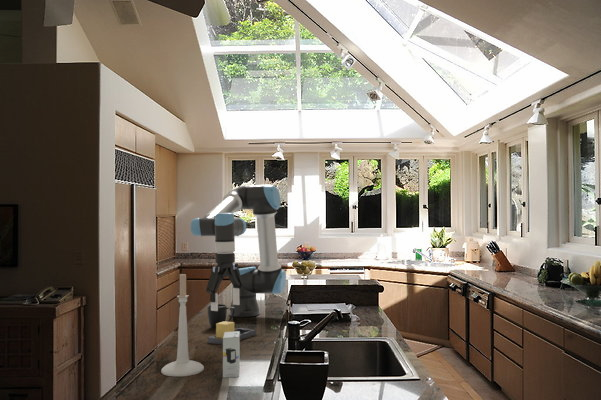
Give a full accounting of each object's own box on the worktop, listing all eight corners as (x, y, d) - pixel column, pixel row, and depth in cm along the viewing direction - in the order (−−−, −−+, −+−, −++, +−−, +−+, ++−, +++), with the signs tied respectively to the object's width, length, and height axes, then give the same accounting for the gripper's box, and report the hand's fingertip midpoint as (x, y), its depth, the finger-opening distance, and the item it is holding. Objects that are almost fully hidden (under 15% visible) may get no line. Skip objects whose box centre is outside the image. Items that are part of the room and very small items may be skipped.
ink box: (224, 369, 158) (224, 331, 159) (240, 369, 159) (239, 330, 159) (222, 377, 150) (222, 337, 150) (239, 377, 150) (238, 336, 151)
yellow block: (223, 339, 200) (223, 321, 200) (234, 340, 198) (234, 322, 198) (216, 342, 195) (216, 323, 196) (226, 343, 193) (226, 324, 193)
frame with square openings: (239, 332, 211) (239, 327, 211) (256, 334, 207) (256, 329, 207) (207, 342, 194) (207, 337, 194) (225, 345, 190) (225, 339, 190)
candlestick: (168, 364, 164) (168, 271, 166) (207, 364, 164) (207, 270, 165) (155, 376, 152) (156, 275, 153) (198, 376, 151) (198, 274, 153)
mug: (232, 329, 217) (232, 307, 218) (205, 329, 219) (205, 307, 219) (237, 326, 226) (237, 304, 226) (210, 325, 227) (210, 304, 227)
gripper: (236, 250, 211) (237, 301, 210) (196, 254, 189) (196, 312, 188) (251, 250, 207) (252, 303, 206) (211, 255, 185) (212, 314, 185)
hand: (225, 307), depth 197 cm, fingers open, 13 cm apart
